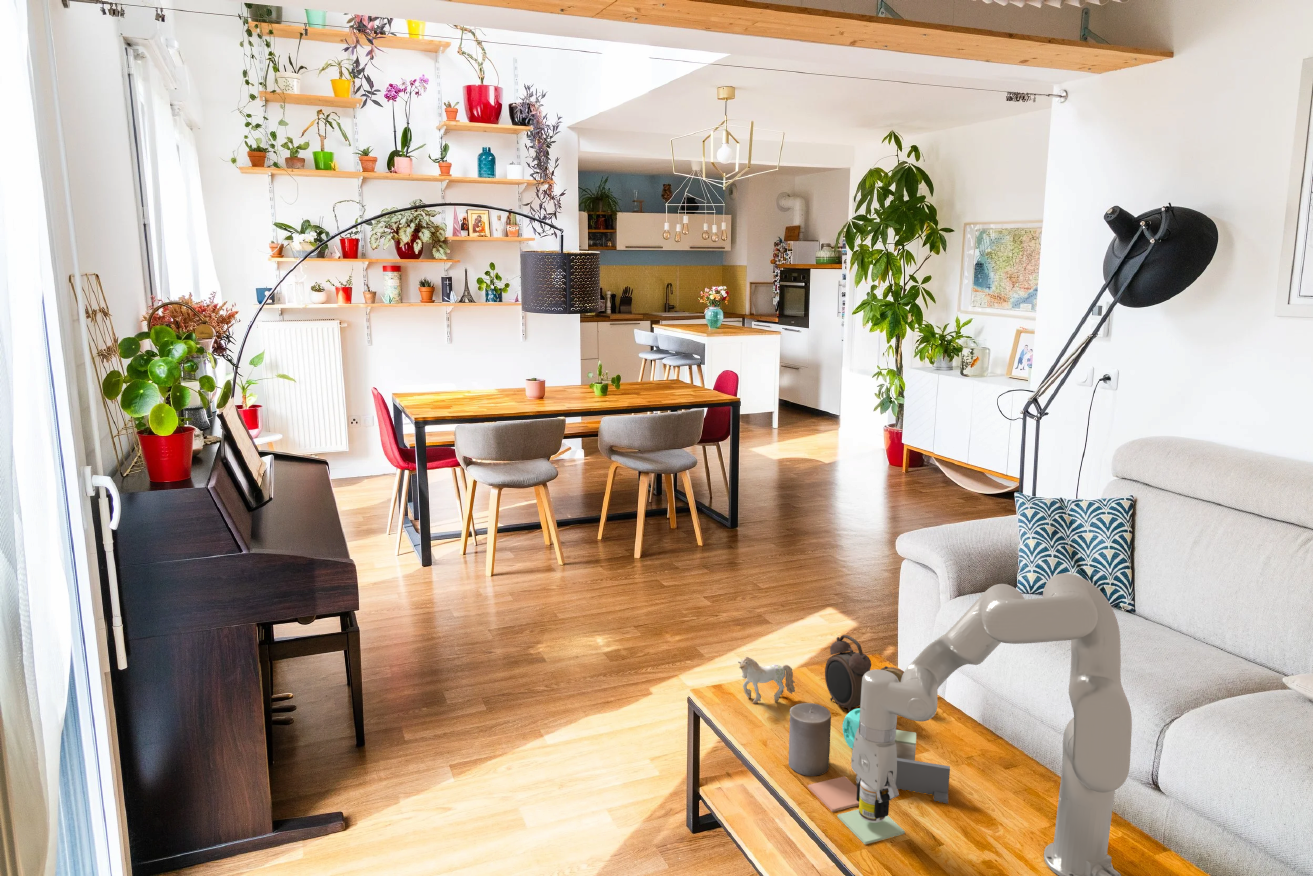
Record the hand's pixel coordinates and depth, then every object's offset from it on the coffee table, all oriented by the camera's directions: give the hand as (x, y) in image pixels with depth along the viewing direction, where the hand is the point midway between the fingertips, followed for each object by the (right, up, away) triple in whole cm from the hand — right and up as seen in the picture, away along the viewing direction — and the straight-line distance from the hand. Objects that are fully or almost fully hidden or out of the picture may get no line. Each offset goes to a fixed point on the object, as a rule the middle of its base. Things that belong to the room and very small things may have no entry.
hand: (872, 807), depth 188 cm
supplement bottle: (0, -2, +1) cm, 2 cm away
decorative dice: (+6, +2, +33) cm, 34 cm away
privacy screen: (+10, -2, +15) cm, 18 cm away
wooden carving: (+21, +5, +55) cm, 59 cm away
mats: (-2, -3, +6) cm, 7 cm away
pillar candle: (-10, 0, +24) cm, 26 cm away
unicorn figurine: (-16, +6, +53) cm, 55 cm away
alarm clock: (+6, +5, +52) cm, 52 cm away
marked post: (+12, -1, +20) cm, 23 cm away
